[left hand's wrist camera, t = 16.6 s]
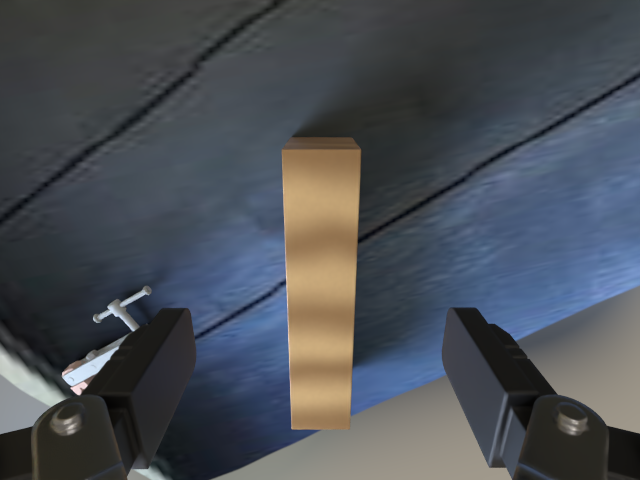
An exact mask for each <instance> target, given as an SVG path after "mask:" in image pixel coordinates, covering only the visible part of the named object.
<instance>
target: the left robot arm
mask: <svg viewBox="0 0 640 480" xmlns="http://www.w3.org/2000/svg"><path fill="white" fill-rule="evenodd" d="M442 361H443V366H444V369H445V372H446V374H447V376H448V378H449V380H450V382H451V385H452V387H453V389H454V391H455V393H456V396H457V398H458V400H459V402H460V405H461V407H462V409H463V411H464V413H465V416H466V418H467V420H468V422H469V424H470V427H471V429H472V431H473V433H474V435H475V438H476V440H477V442H478V444H479V446H480V448H481V451H482V453H483V455H484V457H485V460H486V462H487V464H488V466H489V467H490V468H507V470H508V472H509V474H510V476H511V478H512V480H640V434H639V433H634V432H630V431H626V430H622V429H618V428H614V427H610V426H607V425H606V424H605V422H604V421H603V420H602V418H601V417H600V416H599V415H598V414H597V413H596V412H594V411H593V410H592V409H591V408H589V407H587V406H586V405H584V404H582V403H581V402H579V401H576V400H574V399H572V398H569V397H565V396H561V395H558V394H557V393H556V392H555V391H554V389H553V388H552V387H551V386H550V384H549V383H548V382H547V381H546V379H545V378H544V377H543V376H542V374H541V373H540V372H539V370H538V369H537V368H536V367H535V365H534V364H533V363H532V362H531V361H530V359H527V355H526V354H525V353H524V352H523V350H522V349H520V348H519V345H518V344H517V343H516V342H515V340H514V339H513V338H512V337H511V335H510V334H509V333H507V332H506V331H504V330H503V329H501V328H500V327H498V326H497V325H496V324H488V323H487V321H486V320H485V319H484V317H483V316H482V315H481V313H480V312H479V311H478V309H477V308H449V310H448V313H447V319H446V326H445V332H444V339H443V346H442ZM195 362H196V346H195V339H194V332H193V326H192V319H191V313H190V311H189V309H188V308H162V309H161V310H160V311H159V312H158V314H157V315H156V316H155V318H154V319H153V320H152V322H151V323H150V324H149V325H142V326H140V327H139V328H137V329H136V330H135V331H133V332H132V333H130V334H129V335H128V336H127V337H126V338H125V339H124V341H123V342H122V343H121V344H120V346H119V347H118V350H116V351H115V352H114V353H113V354H112V356H111V357H110V360H108V361H107V362H106V363H105V364H104V366H103V367H102V368H101V369H100V371H99V372H98V373H97V374H96V376H95V377H94V378H93V379H92V380H91V382H90V383H89V384H88V385H87V387H86V388H85V389H84V390H83V392H82V393H81V394H80V395H79V396H75V397H71V398H68V399H66V400H64V401H61V402H59V403H58V404H56V405H54V406H53V407H51V408H49V409H48V410H47V411H46V412H44V413H43V414H42V415H41V416H40V417H39V418H38V420H37V421H36V422H35V424H34V425H33V426H32V427H29V428H25V429H20V430H17V431H12V432H8V433H4V434H0V480H127V476H128V474H129V472H130V470H131V469H148V468H149V466H150V464H151V462H152V459H153V457H154V455H155V453H156V451H157V449H158V446H159V444H160V442H161V440H162V438H163V436H164V433H165V431H166V429H167V427H168V425H169V422H170V420H171V418H172V416H173V414H174V412H175V409H176V407H177V405H178V403H179V401H180V399H181V396H182V394H183V392H184V390H185V388H186V386H187V383H188V381H189V379H190V377H191V375H192V373H193V370H194V367H195Z"/></svg>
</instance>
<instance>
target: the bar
mask: <svg viewBox="0 0 640 480" xmlns="http://www.w3.org/2000/svg"><path fill="white" fill-rule="evenodd" d="M282 169H283V197H284V225H285V253H286V281H287V309H288V337H289V365H290V394H291V422H292V429H350V414H351V389H352V365H353V341H354V317H355V293H356V268H357V244H358V220H359V196H360V172H361V149H360V147H359V146H358V145H357V143H356V142H355V141H354V140H353V138H352V137H291V138H290V139H289V140H288V142H287V143H286V145H285V146H284V147H283V149H282Z"/></svg>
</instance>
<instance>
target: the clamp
mask: <svg viewBox="0 0 640 480" xmlns="http://www.w3.org/2000/svg"><path fill="white" fill-rule="evenodd" d="M151 292H152V290H151V288H150V287H149V286H144V288H143V290H142V291H140V292H138V293H137V294H135V295H133V296H131V297H130V298H128V299H126V300H124V301H123V302H121V301H120V300H119V299H116V300H114V301H113V302H111V303H110V304H109V305H108V310H107V311H105V312H103V313H101V314H95V315H94V317H93V319H94V321H95V322H97V323H100V322H101V321H102V318H104V317H106V316H108V315H110V314H111V313H113V314H114V315H115V316H116V317H117V316H120V318H121V319H122V320H123V321H124V322H125V323H126V324H127V325H128V326H129V327H130V328H131V330H132V331H135V330H136V329H137V328H139V327H140V326H139V325H138V324H137V323H136V322H135V321H134V320H133V318H132V317H131V316H130V315H129V314H128V313H127V312H126V311H125V310H126V309H127V308H126V307H125V306H126V305H127V304H129V303H131V302H133V301H134V300H136V299H138V298H140V297H142V296H143V295H145V294H147V295H150V294H151ZM146 325H148V324H146ZM131 333H132V332H131ZM129 334H130V333H129ZM129 334H128V335H129ZM128 335H126V336H124V337H122V338H120V339H118V340H117V341H115V342H113V343H111V344H109V345H108V346H106V347H104V348H102V349H100V350H98V351H96V350H93V351H91V352H90V353H89V354H88V355H87V356H86V358H84V359H82V360H80V361H76V362H74V363H72V364H71V365H69V366H68V367H67V369H66V370H65V371H64V372H63V375H62V377H63V379H64V380H65V381H66V382H67V383H68V384H70V385H71V386H72V387H71V389H72V390H73V391H74V392H75V393H76V394H77V395H80V394H81V393H82V392H83V390H84V389H85V388H86V387H87V385H88V384H89V383H90V382H91V380H92V379H93V378H94V377H95V376H96V374H97V373H98V372H99V371H100V369H101V368H102V367H103V366H104V364H105V363H106V362H107V361H108V360H110V357H111V356H112V354H113V353H114V352H115V351H116V350H118V347H119V346H120V344H121V343H122V342H123V341H124V339H125V338H126V337H127V336H128Z"/></svg>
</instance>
